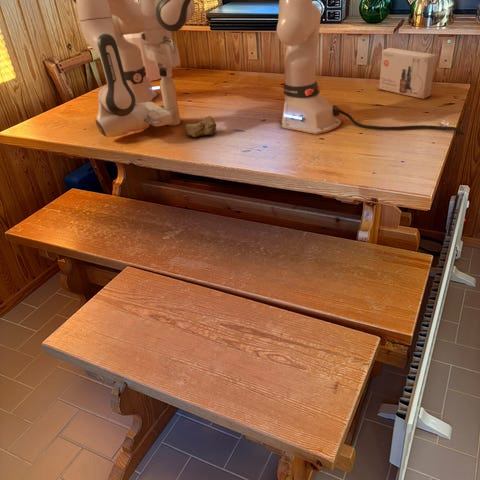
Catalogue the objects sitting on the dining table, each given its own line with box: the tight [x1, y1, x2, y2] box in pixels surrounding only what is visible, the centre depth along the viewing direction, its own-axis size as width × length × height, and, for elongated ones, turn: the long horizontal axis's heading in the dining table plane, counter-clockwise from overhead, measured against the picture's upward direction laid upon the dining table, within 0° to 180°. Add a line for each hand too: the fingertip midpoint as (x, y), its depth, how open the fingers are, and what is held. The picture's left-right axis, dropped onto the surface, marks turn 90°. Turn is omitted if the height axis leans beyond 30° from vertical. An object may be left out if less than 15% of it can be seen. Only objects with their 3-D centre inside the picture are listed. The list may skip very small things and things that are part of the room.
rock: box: [185, 115, 218, 138], centre depth 169 cm, size 11×6×10 cm
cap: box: [159, 67, 166, 76], centre depth 171 cm, size 4×4×2 cm
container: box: [123, 32, 165, 82], centre depth 235 cm, size 21×21×28 cm
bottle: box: [159, 76, 182, 127], centre depth 176 cm, size 5×5×20 cm
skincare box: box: [378, 47, 437, 100], centre depth 184 cm, size 21×6×16 cm, turn 40°
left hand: (173, 108), depth 179 cm, fingers closed on bottle, 5 cm apart
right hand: (165, 75), depth 172 cm, fingers closed on cap, 4 cm apart
